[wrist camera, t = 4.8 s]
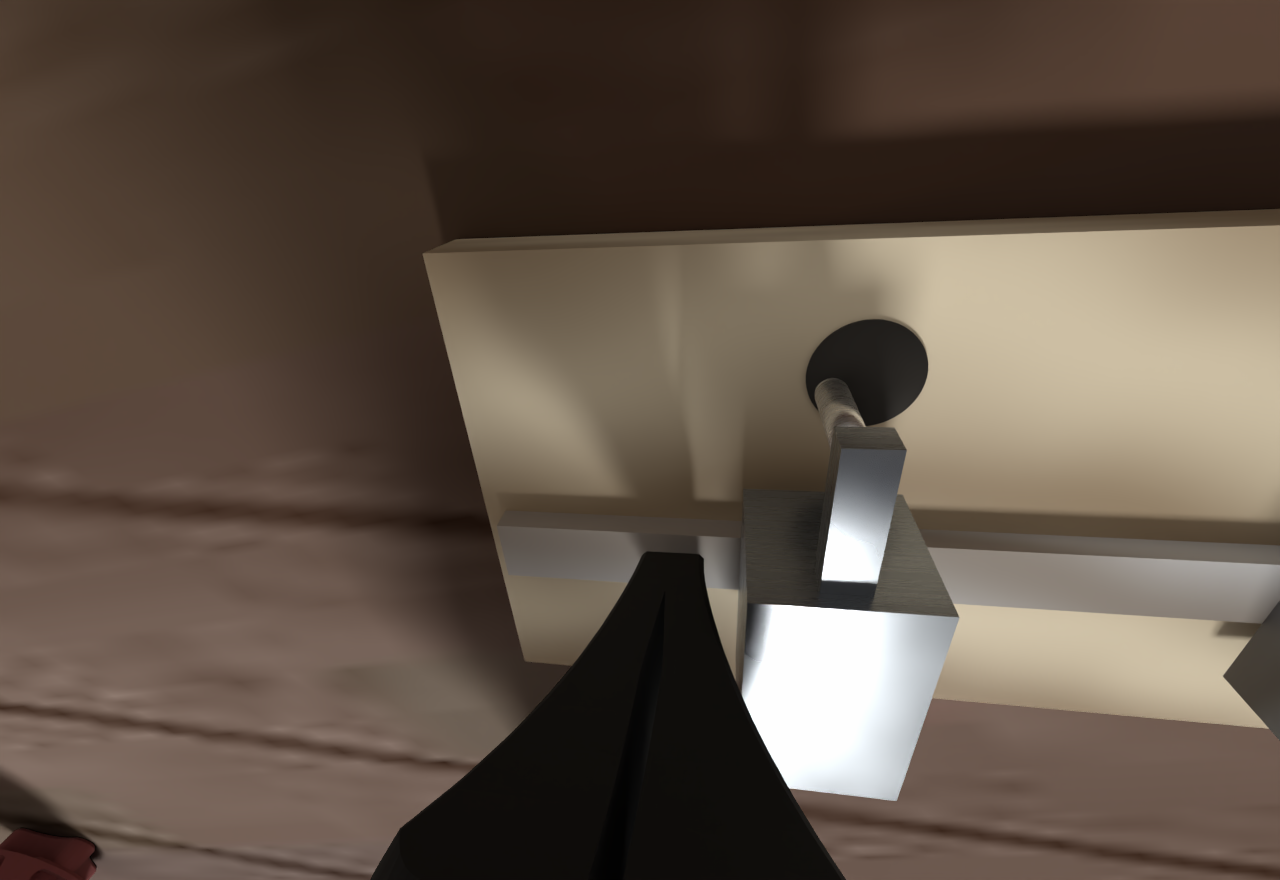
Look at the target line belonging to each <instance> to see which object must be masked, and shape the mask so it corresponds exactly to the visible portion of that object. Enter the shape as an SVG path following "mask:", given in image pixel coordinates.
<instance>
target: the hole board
mask: <svg viewBox="0 0 1280 880" xmlns="http://www.w3.org/2000/svg"><path fill="white" fill-rule="evenodd" d="M422 254H423V258H424V262H425V266H426V270H427V274H428V278H429V282H430V286H431V290H432V294H433V298H434V302H435V306H436V310H437V314H438V318H439V322H440V326H441V330H442V334H443V338H444V342H445V346H446V350H447V354H448V358H449V362H450V366H451V370H452V374H453V378H454V382H455V386H456V390H457V394H458V397H459V401H460V405H461V409H462V413H463V417H464V421H465V425H466V429H467V433H468V437H469V441H470V445H471V449H472V453H473V457H474V461H475V465H476V469H477V473H478V477H479V481H480V485H481V489H482V493H483V497H484V501H485V505H486V509H487V513H488V517H489V521H490V525H491V529H492V533H493V537H494V541H495V545H496V549H497V553H498V557H499V561H500V565H501V569H502V573H503V577H504V581H505V585H506V589H507V593H508V597H509V601H510V605H511V609H512V613H513V617H514V621H515V625H516V629H517V633H518V637H519V641H520V645H521V649H522V653H523V657H524V660H525V661H526V662H537V663H548V664H559V665H570V666H572V665H573V664H574V663H575V661H576V660H577V659H578V657H579V656H580V655H581V653H582V652H583V651H584V649H585V648H586V647H587V645H588V644H589V642H590V641H591V640H592V638H593V637H594V636H595V634H596V633H597V631H598V630H599V629H600V627H601V626H602V624H603V623H604V621H605V620H606V618H607V616H608V615H609V613H610V612H611V610H612V609H613V607H614V605H615V604H616V602H617V601H618V599H619V598H620V596H621V594H622V592H623V591H624V589H625V587H626V586H627V584H628V582H629V580H630V578H631V577H632V575H633V573H634V571H635V569H636V567H637V565H638V563H639V561H640V558H641V556H642V555H643V554H644V553H645V552H646V551H652V552H671V553H690V554H700V555H701V556H702V557H703V558H704V575H705V582H706V588H707V593H708V598H709V602H710V606H711V610H712V614H713V617H714V621H715V624H716V627H717V630H718V634H719V637H720V640H721V643H722V646H723V649H724V652H725V655H726V657H727V660H728V662H729V665H730V668H731V670H732V673H733V676H734V678H735V680H736V658H735V654H736V633H737V612H738V590H739V569H740V548H741V527H742V506H743V489H763V490H791V491H819V492H825V486H826V479H827V472H828V464H829V457H830V446H829V443H828V440H827V437H826V433H825V430H824V427H823V424H822V420H821V417H820V414H819V410H818V407H817V404H816V401H815V390H816V388H817V386H818V384H819V383H820V382H822V381H823V380H825V379H828V378H837V379H840V380H842V381H843V382H845V383H846V385H847V386H848V388H849V390H850V392H851V395H852V397H853V399H854V401H855V404H856V406H857V408H858V410H859V413H860V415H861V417H862V419H863V421H864V424H865V426H866V427H892V428H895V429H896V431H897V433H898V435H899V436H900V438H901V440H902V442H903V444H904V446H905V448H906V449H907V452H906V457H905V461H904V466H903V470H902V475H901V479H900V484H899V488H898V493H897V494H902V495H903V496H904V498H905V501H906V503H907V505H908V507H909V509H910V511H911V514H912V516H913V518H914V520H915V522H916V524H917V527H918V529H919V531H920V533H921V535H922V537H923V540H924V542H925V544H926V546H927V548H928V550H929V552H930V555H931V557H932V559H933V561H934V563H935V565H936V568H937V570H938V572H939V574H940V576H941V578H942V581H943V583H944V585H945V587H946V589H947V591H948V593H949V596H950V598H951V600H952V602H953V604H954V606H955V609H956V611H957V613H958V615H959V617H960V618H959V621H958V624H957V626H956V629H955V632H954V635H953V638H952V641H951V644H950V647H949V650H948V653H947V656H946V658H945V661H944V664H943V667H942V670H941V673H940V676H939V679H938V682H937V685H936V688H935V690H934V693H933V696H932V698H936V699H947V700H958V701H969V702H981V703H992V704H1003V705H1014V706H1025V707H1036V708H1047V709H1058V710H1069V711H1080V712H1092V713H1103V714H1114V715H1125V716H1136V717H1147V718H1158V719H1169V720H1180V721H1191V722H1202V723H1214V724H1225V725H1236V726H1247V727H1258V728H1269V729H1270V730H1271V731H1272V732H1273V734H1274V735H1275V736H1276V737H1277V738H1278V739H1279V740H1280V209H1262V210H1235V211H1208V212H1181V213H1154V214H1127V215H1100V216H1072V217H1045V218H1018V219H991V220H964V221H937V222H910V223H882V224H855V225H828V226H801V227H774V228H747V229H720V230H693V231H665V232H638V233H611V234H584V235H557V236H530V237H503V238H475V239H455V240H453V241H451V242H448V243H446V244H444V245H441V246H439V247H437V248H434V249H432V250H429V251H427V252H425V253H422Z"/></svg>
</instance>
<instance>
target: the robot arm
mask: <svg viewBox="0 0 1280 880" xmlns="http://www.w3.org/2000/svg"><path fill="white" fill-rule="evenodd" d="M371 880H846V879H845V877H844V876H843V874H842V873H841V872H840V870H839V869H838V867H837V866H836V864H835V863H834V861H833V860H832V858H831V856H830V855H829V853H828V852H827V850H826V849H825V847H824V845H823V844H822V842H821V841H820V839H819V838H818V836H817V835H816V833H815V831H814V830H813V828H812V826H811V825H810V823H809V821H808V820H807V818H806V816H805V815H804V813H803V811H802V810H801V808H800V807H799V805H798V803H797V802H796V800H795V798H794V797H793V795H792V793H791V791H790V789H789V787H788V786H787V784H786V782H785V780H784V778H783V777H782V775H781V773H780V771H779V769H778V767H777V766H776V764H775V762H774V760H773V758H772V757H771V755H770V753H769V751H768V749H767V747H766V745H765V743H764V741H763V739H762V737H761V735H760V733H759V731H758V729H757V727H756V725H755V723H754V721H753V719H752V717H751V715H750V713H749V710H748V708H747V706H746V704H745V702H744V699H743V697H742V695H741V692H740V690H739V688H738V685H737V683H736V680H735V678H734V676H733V673H732V670H731V668H730V665H729V662H728V660H727V657H726V655H725V652H724V649H723V646H722V643H721V640H720V637H719V634H718V630H717V627H716V624H715V621H714V617H713V614H712V610H711V606H710V602H709V598H708V593H707V588H706V582H705V575H704V558H703V557H702V556H701V555H700V554H690V553H671V552H652V551H646V552H645V553H644V554H643V555H642V556H641V558H640V561H639V563H638V565H637V567H636V569H635V571H634V573H633V575H632V577H631V578H630V580H629V582H628V584H627V586H626V587H625V589H624V591H623V592H622V594H621V596H620V598H619V599H618V601H617V602H616V604H615V605H614V607H613V609H612V610H611V612H610V613H609V615H608V616H607V618H606V620H605V621H604V623H603V624H602V626H601V627H600V629H599V630H598V631H597V633H596V634H595V636H594V637H593V638H592V640H591V641H590V642H589V644H588V645H587V647H586V648H585V649H584V651H583V652H582V653H581V655H580V656H579V657H578V659H577V660H576V661H575V663H574V664H573V665H572V666H571V668H570V669H569V670H568V671H567V673H566V674H565V675H564V676H563V677H562V679H561V680H560V681H559V682H558V683H557V684H556V686H555V687H554V688H553V689H552V690H551V691H550V693H549V694H548V695H547V696H546V697H545V698H544V699H543V700H542V701H541V703H540V704H539V705H538V706H537V707H536V708H535V709H534V710H533V711H532V712H531V713H530V714H529V715H528V716H527V717H526V719H525V720H524V721H523V722H522V723H521V724H520V725H519V726H518V727H517V728H516V729H515V730H514V731H513V732H512V733H511V734H510V735H509V736H508V737H507V738H506V739H505V740H504V741H502V742H501V743H500V744H499V745H498V746H497V747H496V748H495V749H494V750H493V751H492V752H491V753H489V754H488V755H487V756H486V757H485V758H484V759H483V760H482V761H481V762H480V763H479V764H477V765H476V766H475V767H474V768H473V769H472V770H471V771H470V772H469V773H468V774H467V775H465V776H464V777H463V778H462V779H461V780H460V781H458V782H457V783H456V784H455V785H454V786H452V787H451V788H450V789H449V790H447V791H446V792H445V793H444V794H442V795H441V796H440V797H439V798H437V799H436V800H435V801H434V802H433V803H431V804H430V805H429V806H428V807H426V808H425V809H424V810H423V811H421V812H420V813H419V814H418V815H416V816H415V817H414V818H413V819H411V820H410V821H409V822H408V823H406V824H405V825H404V826H403V827H401V828H400V830H399V831H398V833H397V834H396V836H395V838H394V839H393V841H392V843H391V844H390V846H389V848H388V850H387V851H386V853H385V855H384V856H383V858H382V860H381V861H380V863H379V865H378V866H377V868H376V870H375V872H374V874H373V875H372V877H371Z"/></svg>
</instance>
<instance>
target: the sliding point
mask: <svg viewBox="0 0 1280 880" xmlns="http://www.w3.org/2000/svg"><path fill="white" fill-rule="evenodd" d="M815 401H816V404H817V407H818V410H819V414H820V417H821V420H822V424H823V427H824V430H825V433H826V437H827V440H828V443H829V446H830V457H829V464H828V472H827V479H826V486H825V492H819V491H791V490H763V489H743V506H742V527H741V548H740V569H739V590H738V612H737V633H736V654H735V658H736V683H737V685H738V688H739V690H740V692H741V695H742V697H743V699H744V702H745V704H746V706H747V708H748V710H749V713H750V715H751V717H752V719H753V721H754V723H755V725H756V727H757V729H758V731H759V733H760V735H761V737H762V739H763V741H764V743H765V745H766V747H767V749H768V751H769V753H770V755H771V757H772V758H773V760H774V762H775V764H776V766H777V767H778V769H779V771H780V773H781V775H782V777H783V778H784V780H785V782H786V784H787V786H788V787H789V788H793V789H801V790H809V791H818V792H826V793H835V794H843V795H852V796H860V797H868V798H877V799H885V800H894V801H897V798H898V795H899V792H900V789H901V786H902V784H903V781H904V778H905V775H906V772H907V769H908V766H909V763H910V760H911V757H912V754H913V752H914V749H915V746H916V743H917V740H918V737H919V734H920V731H921V728H922V725H923V722H924V720H925V717H926V714H927V711H928V708H929V705H930V702H931V699H932V696H933V693H934V690H935V688H936V685H937V682H938V679H939V676H940V673H941V670H942V667H943V664H944V661H945V658H946V656H947V653H948V650H949V647H950V644H951V641H952V638H953V635H954V632H955V629H956V626H957V624H958V621H959V618H960V617H959V615H958V613H957V611H956V609H955V606H954V604H953V602H952V600H951V598H950V596H949V593H948V591H947V589H946V587H945V585H944V583H943V581H942V578H941V576H940V574H939V572H938V570H937V568H936V565H935V563H934V561H933V559H932V557H931V555H930V552H929V550H928V548H927V546H926V544H925V542H924V540H923V537H922V535H921V533H920V531H919V529H918V527H917V524H916V522H915V520H914V518H913V516H912V514H911V511H910V509H909V507H908V505H907V503H906V501H905V498H904V496H903V495H902V494H897V493H898V488H899V484H900V479H901V475H902V470H903V466H904V461H905V457H906V452H907V449H906V448H905V446H904V444H903V442H902V440H901V438H900V436H899V435H898V433H897V431H896V429H895V428H892V427H866V426H865V424H864V421H863V419H862V417H861V415H860V413H859V410H858V408H857V406H856V404H855V401H854V399H853V397H852V395H851V392H850V390H849V388H848V386H847V385H846V383H845V382H843V381H842V380H840V379H837V378H828V379H825V380H823V381H822V382H820V383H819V384H818V386H817V388H816V390H815Z"/></svg>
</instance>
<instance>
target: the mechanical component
mask: <svg viewBox="0 0 1280 880" xmlns="http://www.w3.org/2000/svg"><path fill="white" fill-rule="evenodd" d="M94 851H95V846H94V844H92V843H91V842H89V841H87V840H85V839H82V838H78V837H74V838H65V837H57V836H51V835H46V834H42V833H38V832H35V831H32V830H28V829H25V828H20V829H17V830H15V831H14V832H13V833H12V834H11V835H10V836H9V837H8V838H7V839H6V840H5V841H4V842H3V843H2V844H1V845H0V880H89V879H90V878H91V877H92V875H93V874H94V873H95V872H96V866H95V865H94V864H93V862H92V861H91V859H90V855H91V854H92V853H93V852H94Z"/></svg>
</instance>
